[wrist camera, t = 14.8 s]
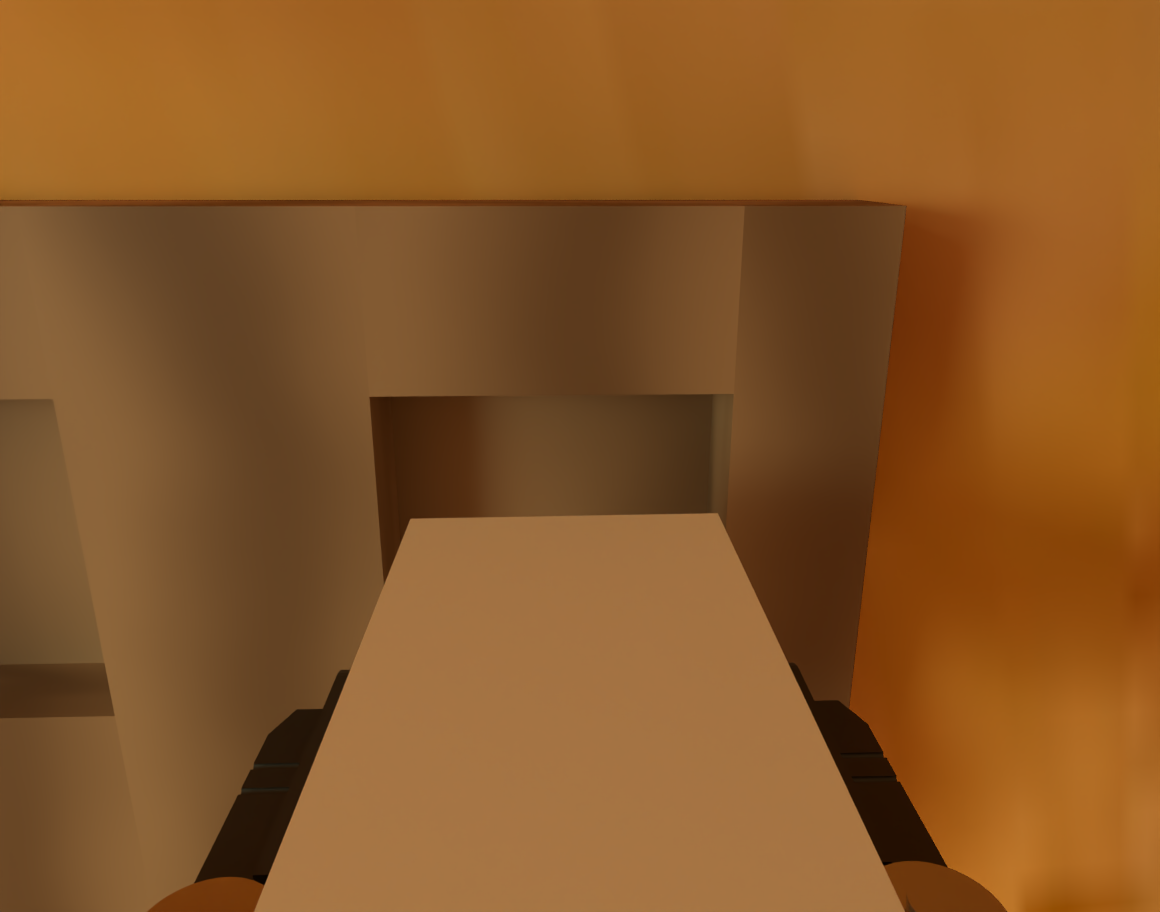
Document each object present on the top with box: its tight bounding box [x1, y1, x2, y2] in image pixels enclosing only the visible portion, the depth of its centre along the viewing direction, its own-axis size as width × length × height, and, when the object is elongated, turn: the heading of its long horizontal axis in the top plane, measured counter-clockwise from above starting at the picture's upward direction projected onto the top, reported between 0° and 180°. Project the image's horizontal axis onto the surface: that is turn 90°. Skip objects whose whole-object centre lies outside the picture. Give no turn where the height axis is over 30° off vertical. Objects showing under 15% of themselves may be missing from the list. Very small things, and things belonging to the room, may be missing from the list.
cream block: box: [254, 513, 905, 912], centre depth 10 cm, size 4×4×8 cm
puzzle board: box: [0, 200, 906, 912], centre depth 18 cm, size 24×18×2 cm
